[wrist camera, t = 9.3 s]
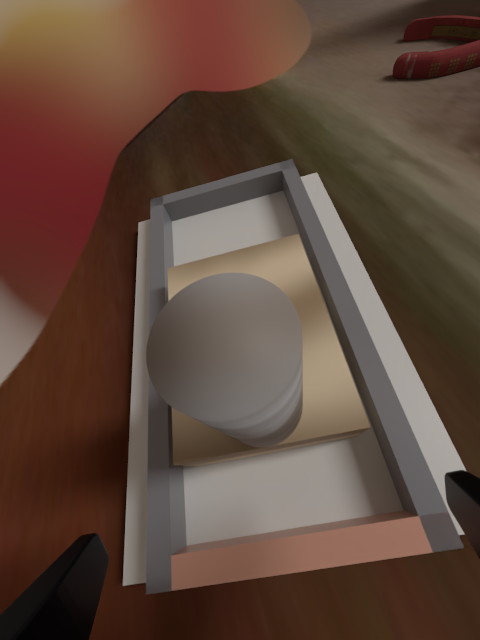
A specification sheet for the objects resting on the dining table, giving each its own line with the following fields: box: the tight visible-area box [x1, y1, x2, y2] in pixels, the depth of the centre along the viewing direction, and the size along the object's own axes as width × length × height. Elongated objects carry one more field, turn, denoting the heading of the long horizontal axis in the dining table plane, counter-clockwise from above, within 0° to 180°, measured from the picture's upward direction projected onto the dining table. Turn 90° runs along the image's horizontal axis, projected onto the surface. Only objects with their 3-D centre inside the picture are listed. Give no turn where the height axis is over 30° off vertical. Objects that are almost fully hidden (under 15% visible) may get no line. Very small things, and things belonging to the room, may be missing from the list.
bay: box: [123, 159, 466, 594], centre depth 20 cm, size 27×18×3 cm, turn 9°
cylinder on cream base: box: [146, 234, 371, 466], centre depth 14 cm, size 12×9×11 cm
